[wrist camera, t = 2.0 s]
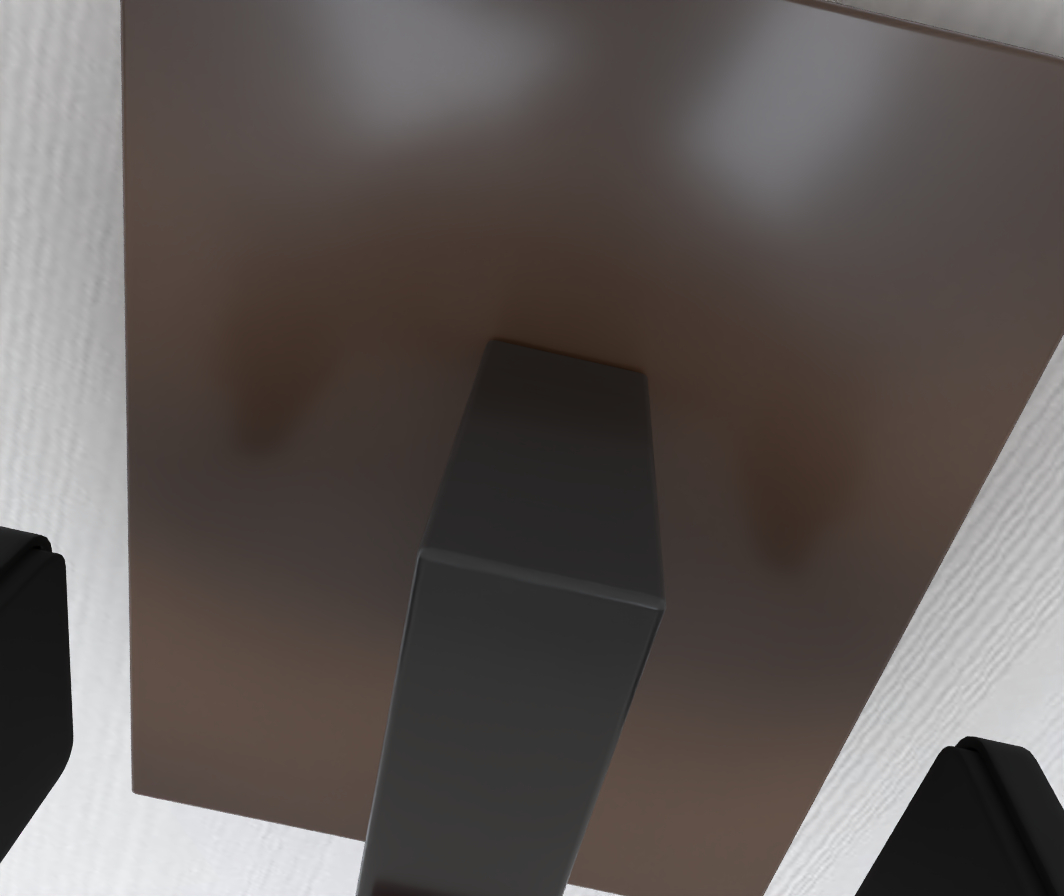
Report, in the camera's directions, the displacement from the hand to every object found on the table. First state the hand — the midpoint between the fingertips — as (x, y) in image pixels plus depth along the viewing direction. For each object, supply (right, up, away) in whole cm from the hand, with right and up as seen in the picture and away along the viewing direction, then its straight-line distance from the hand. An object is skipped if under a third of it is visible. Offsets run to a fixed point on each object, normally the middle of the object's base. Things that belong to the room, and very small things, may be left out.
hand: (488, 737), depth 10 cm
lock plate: (+1, +3, +5) cm, 6 cm away
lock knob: (0, +2, +3) cm, 3 cm away
